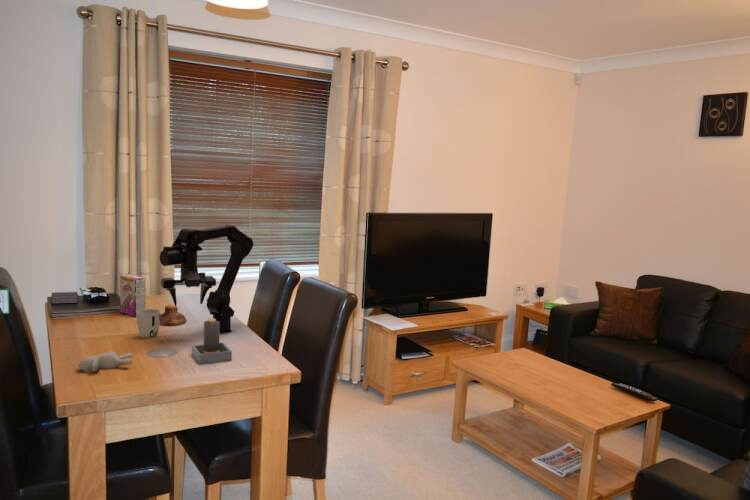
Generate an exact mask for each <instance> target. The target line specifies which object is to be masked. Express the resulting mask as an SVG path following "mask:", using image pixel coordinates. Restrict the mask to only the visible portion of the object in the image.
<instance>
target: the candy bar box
mask: <svg viewBox="0 0 750 500" xmlns="http://www.w3.org/2000/svg"><path fill="white" fill-rule="evenodd" d="M143 309H146V278H145V277H143V276H138V275H135V274H130V273H127V274H120V275H119V311H120V312H119V313H121V314H125V315H128V316H130V317H134V318H137V311H139V310H143Z"/></svg>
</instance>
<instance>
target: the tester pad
mask: <svg viewBox="0 0 750 500" xmlns="http://www.w3.org/2000/svg"><path fill="white" fill-rule="evenodd" d="M178 353H179V352H178V350H177V349H175V348H169V347H163V348H161V347H159V348H155V349H151V350H148V351H147V352H146V353H145V355H146V356H148V357H149V358H155V359H163V358H164V359H165V358H170V357H174V356H177V354H178Z"/></svg>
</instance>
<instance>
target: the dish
mask: <svg viewBox="0 0 750 500" xmlns="http://www.w3.org/2000/svg"><path fill="white" fill-rule="evenodd" d="M232 352H233V351H232V349H230V348H229V347H228V346H227V344H225V342H223V341H222V342H219V352H216V353H207V354H204V343H203V344H194V345H191V355H192V357H193V358H194V359H195V361H196V362H197V364H198V365H205V364H211V363H212V364H213V363H221V362H227V361H232V359H233V358H232V356H233V354H232Z"/></svg>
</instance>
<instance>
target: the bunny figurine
mask: <svg viewBox="0 0 750 500" xmlns="http://www.w3.org/2000/svg"><path fill="white" fill-rule="evenodd" d="M133 357H135V354H134V353H133V352H129V353H126V354H122V355H118V354H117V353H116V352H115V351H113V350H112V351H110V350H109V351H105V352H103V353H100V354H97V355H88V356H86V357H85V358H84V359H83V360H80V363H79V364H78V369H79V370H81V371H83V372H85V373H91V372H98V371H100V369H115V368H117V367H118V366H119V365H124V366H126V365H130V364H132V359H131V358H133Z"/></svg>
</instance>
